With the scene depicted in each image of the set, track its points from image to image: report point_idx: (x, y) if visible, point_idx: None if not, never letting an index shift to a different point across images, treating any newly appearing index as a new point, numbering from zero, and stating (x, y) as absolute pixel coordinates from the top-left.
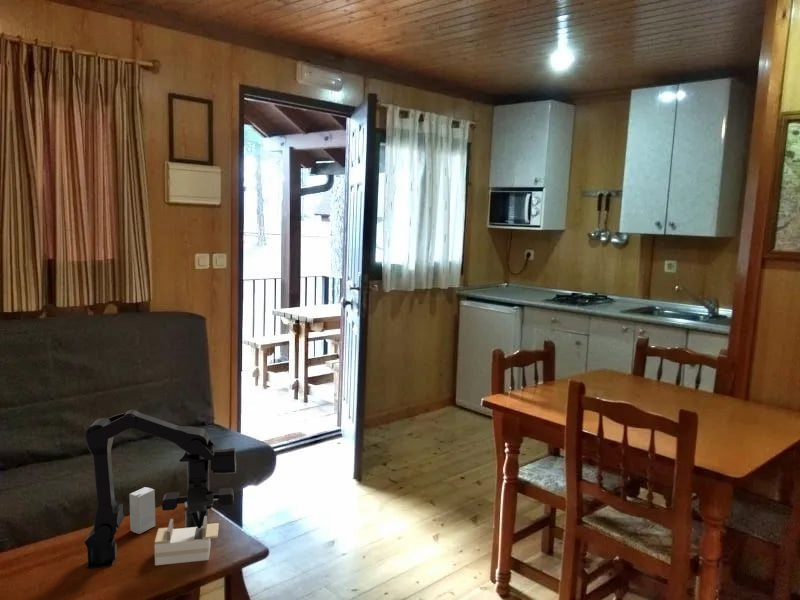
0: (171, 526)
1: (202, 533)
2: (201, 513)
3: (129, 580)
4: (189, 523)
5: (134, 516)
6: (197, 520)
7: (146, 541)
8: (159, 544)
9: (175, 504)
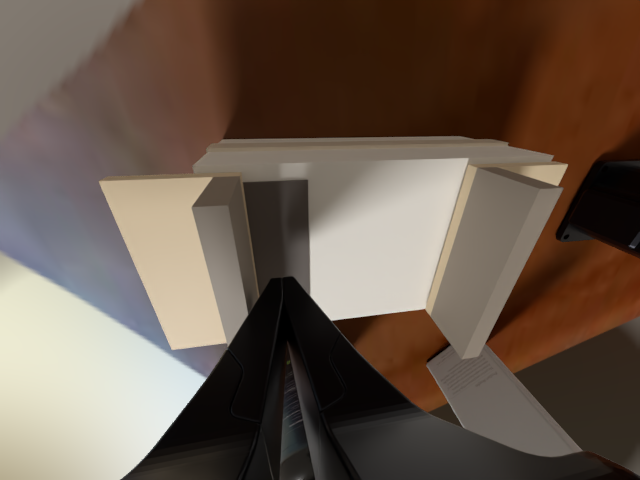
0: (492, 279)
1: (235, 187)
2: (244, 411)
3: (584, 9)
4: None
5: (519, 384)
6: (300, 321)
7: None
8: (524, 156)
9: None
